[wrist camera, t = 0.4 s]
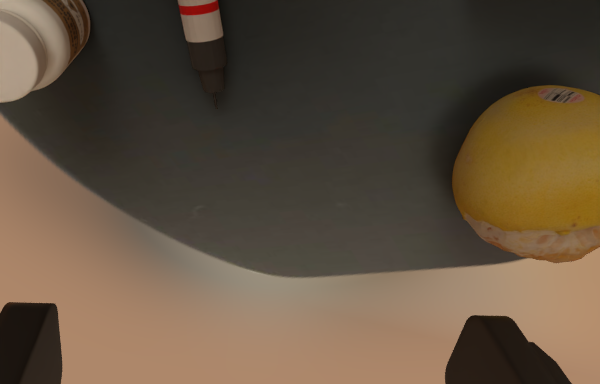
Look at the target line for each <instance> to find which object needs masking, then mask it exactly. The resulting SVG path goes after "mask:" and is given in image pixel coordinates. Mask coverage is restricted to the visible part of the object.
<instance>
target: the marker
mask: <svg viewBox="0 0 600 384" xmlns="http://www.w3.org/2000/svg"><path fill="white" fill-rule="evenodd" d="M178 4H179V9H180V14H181V19H182V24H183V28H184V33H185V38H186V41H187V44H188V49H189V54H190V58H191V63H192V68H193V69H195V70H198V73H199V76H200V79H201V83H202V86H203V89H204V91H205V92H207V93H213V97H214V102H215V108H216V109H218V108H217V99H216V94H215V92H219V91H222V90H224V88H225V86H224V70H223V66H225V65H226V64H227V58H226V52H225V46H224V40H223V30H222V24H221V18H220V12H219V6H218V0H178Z"/></svg>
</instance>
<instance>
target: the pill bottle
mask: <svg viewBox="0 0 600 384" xmlns="http://www.w3.org/2000/svg"><path fill="white" fill-rule="evenodd" d="M89 34H90V17H89V13H88V10H87V8H86V6H85V4H84V2H83V0H0V102H10V101H14V100H18V99H20V98H22V97H24V96H25V95H27V94H28V93H29V92H30V91H33V90H38V89H41V88H44V87H46V86H48V85H49V84H51V83H52V82H54V81H55V80H56V79H57V78H58V77H59V76H60V75H61V74H62V73H63V72H64V70H65V69H66V68H67V67H68V66H69V64H70V63H71V62H72V61H73V60H74V58H75V57H76V56H77V55H78V54H79V52H80V51H81V50H82V49H83V47H84V46H85V44H86V42H87V40H88V38H89Z"/></svg>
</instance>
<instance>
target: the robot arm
mask: <svg viewBox="0 0 600 384" xmlns="http://www.w3.org/2000/svg"><path fill="white" fill-rule="evenodd" d="M58 322H59V321H58V311H57V307H56V305H55V304H53V303H13V302H9V303H7V304H6V305H5V306H4V307H3V309H2V311H1V313H0V384H61V377H62V355H61V343H60V332H59V323H58ZM445 383H446V384H571V382H570V381H569V380H568V378H567V377H566V375H565V374H564V373H563V371H562V370H561V368H560V367H559V366H558V364H557V363H556V362H555V361H554V360H553V359H552V358H551V357H550V356H548V355H547V354H546V353H545V352H544V351H543V350H542V349H540V348H539V347H538V346H537V345H536V344H535V343H533V342H528V341H527V339H526V338H525V336H524V335H523V333H522V332H521V330H520V329H519V327H518V326H517V324H516V323H515V322H514V321H513V320H512V319H511V318H509V317H507V316H477V315H474V316H471V317H469V318H468V320H467V321H466V323H465V325H464V328H463V330H462V332H461V334H460V336H459V339H458V341H457V343H456V346H455V348H454V350H453V352H452V354H451V357H450V359H449V361H448V364H447V367H446V372H445Z"/></svg>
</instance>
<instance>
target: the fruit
mask: <svg viewBox="0 0 600 384" xmlns="http://www.w3.org/2000/svg"><path fill="white" fill-rule="evenodd" d="M452 187H453V193H454V198H455V202H456V205H457V207H458V209H459V211H460V212H461V214H462V217H463V219H464V220H466V221H467V222H468V223H469V224H470V225H471V227H472V228H473V229H474V231H475V232H476V233H477V234H478V235H479V236H480V237H481V238H482V239H483V240H485V241H486V242H488V243H491V244H493V245H494V246H497V247H499V248H500V249H502V250H504V251H508V252H514V253H515V254H517V255H518V256H521V257H526V258H533V259H536V260H547V261H550V262H554V263H560V262H569V261H575V260H578V259H581V258H582V257H584V256H585V255H586V254H588V253H590V252H592V251H593V250H595V249H597V248H598V247H600V95H597V94H595V93H592V92H589V91H585V90H581V89H577V88H571V87H565V86H557V85H543V86H534V87H529V88H525V89H522V90H519V91H516V92H513V93H511V94H508V95H506V96H504V97H503V98H501V99H499V100H498V101H496V102H495V103H493V104H492V105H491V106H490V107H489V108H488V109H487V110H485V111H484V112H483V113H482V114H481V116H480V117H479V118H478V119H477V120H476V122H475V123H474V124H473V126H472V127H471V129H470V130H469V132H468V135H467V137H466V139H465V141H464V143H463V144H462V147H461V149H460V151H459V153H458V155H457V158H456V160H455V164H454V168H453V175H452Z"/></svg>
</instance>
